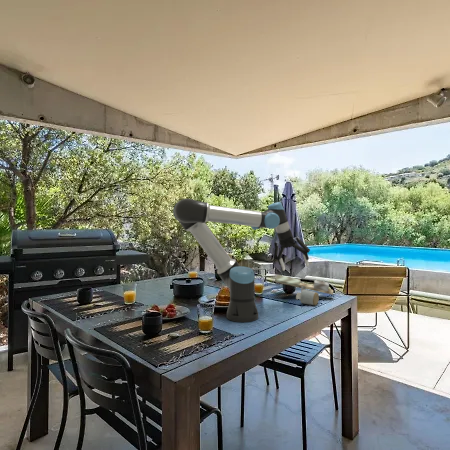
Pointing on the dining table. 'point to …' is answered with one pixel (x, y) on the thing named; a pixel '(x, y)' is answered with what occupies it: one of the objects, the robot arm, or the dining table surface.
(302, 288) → the stand
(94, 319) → the dining table surface
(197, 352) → the dining table surface
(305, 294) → the ceramic mug
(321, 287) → the balance beam
